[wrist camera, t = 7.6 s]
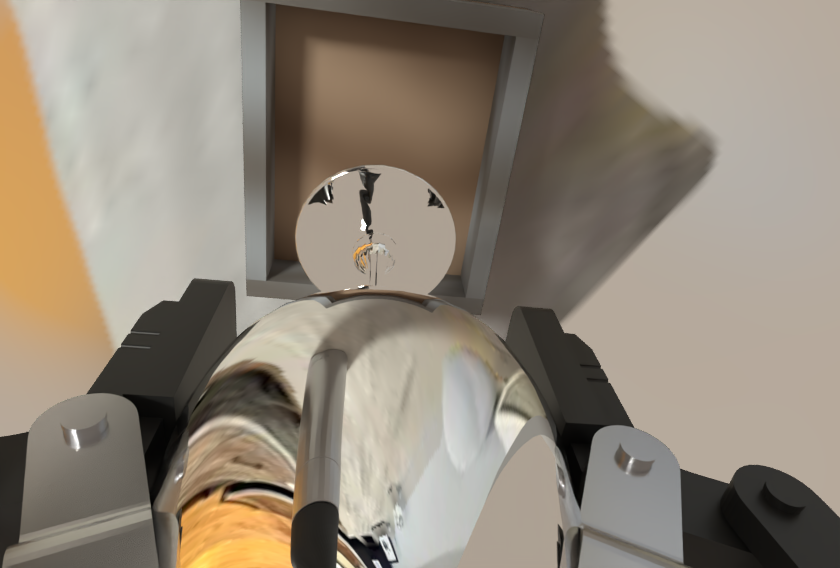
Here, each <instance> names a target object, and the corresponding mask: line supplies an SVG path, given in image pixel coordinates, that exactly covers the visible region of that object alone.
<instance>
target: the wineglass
mask: <svg viewBox="0 0 840 568" xmlns="http://www.w3.org/2000/svg"><path fill="white" fill-rule="evenodd" d="M295 242H296V251H297V254H298V258H299V261H300V263H301V266H302V268H303V270H304V271H305V273H306V275H307V276H308V278H309V279H310V280H311V281H312V283H313V284H314V285H315V286H316V287H317V288H318V289H319V290H320V291H321V292H317V293H315V294H312V295H309V296H306V297H303V298H300V299H298V300H295V301H292V302H289V303H286V304H284V305H282V306H281V307H279V308H277V309H275V310H274V311H272V312H270V313H269V314H267V315H265V316H264V317H262V318H260V319H259V320H257V321H255V322H254V323H253V324H252V325H251V326H249V327H248V328H247V329H246V330H245V331H243V332H242V333H241V334H240V335H239V336H238V337H236V338H235V339H234V340H233V341H232V342H231V343H230V344H229V345H228V346H227V348H226V349H225V350H224V351H223V352H222V353H221V355H220V356H219V357H218V358H217V359H216V360H215V362H214V363H213V364H212V365H211V366H210V368H209V369H208V370H207V372H206V373H205V375H204V376H203V378H202V379H201V381H200V382H199V384H198V385H197V386H196V388H195V389H194V391H193V392H192V394H191V395H190V397H189V398H188V400H187V401H186V403H185V405H184V407H183V409H182V411H181V413H180V414H179V416H178V419H177V421H176V423H175V425H174V427H173V429H172V431H171V433H170V436H169V438H168V441H167V444H166V446H165V449H164V452H163V454H162V457H161V460H160V462H159V465H158V468H157V470H156V473H155V476H154V479H153V482H152V486H151V489H150V492H149V496H150V504H151V512H152V519H153V527H154V534H155V541H156V549H157V556H158V564H159V568H576V566H577V557H578V548H579V533H580V526H581V525H582V519H581V514H580V506H579V500H578V495H577V490H576V485H575V481H574V477H573V473H572V469H571V466H570V463H569V460H568V457H567V454H566V451H565V448H564V445H563V442H562V439H561V436H560V433H559V430H558V427H557V424H556V421H555V419H554V416H553V414H552V412H551V410H550V408H549V406H548V404H547V402H546V400H545V398H544V397H543V395H542V393H541V391H540V390H539V388H538V386H537V385H536V383H535V381H534V379H533V378H532V376H531V375H530V373H529V371H528V370H527V369H526V367H525V366H524V365H523V363H522V362H521V361H520V360H519V358H518V357H517V356H516V354H515V353H514V352H513V351H512V349H511V348H510V347H509V346H508V344H507V343H506V342H505V341H504V340H503V339H501V338H500V337H499V336H498V335H497V334H496V333H495V332H494V331H493V330H492V329H491V328H490V327H489V326H487V325H486V324H484V323H483V322H482V321H480V320H479V319H477V318H476V317H474V316H473V315H472V314H470V313H469V312H467V311H466V310H464V309H462V308H459V307H457V306H455V305H453V304H451V303H449V302H446V301H444V300H442V299H440V298H437V297H434V296H431V295H428V293H430V292H431V291H432V290H433V289H434V288H435V287H436V286H437V285H438V284H439V283H440V282H441V280H442V279H443V278H444V276H445V274H446V273H447V271H448V269H449V267H450V265H451V262H452V259H453V256H454V252H455V244H456V232H455V225H454V220H453V217H452V215H451V212H450V209H449V207H448V206H447V204H446V202H445V200H444V199H443V198H442V196H441V195H440V194H439V193H438V191H437V190H436V189H435V188H434V187H433V186H432V185H431V184H429V183H428V182H427V181H425V180H424V179H423V178H421V177H419V176H417V175H415V174H413V173H411V172H409V171H407V170H405V169H401V168H397V167H393V166H388V165H383V164H382V165H360V166H356V167H352V168H349V169H345V170H342V171H340V172H338V173H336V174H334V175H332V176H331V177H329V178H327V179H325V180H324V181H323V182H322V183H321V184H320V185H319V186H317V187H316V188H315V189H314V190H313V191H312V193H311V194H310V195H309V197H308V198H307V200H306V201H305V202H304V204H303V206H302V209H301V211H300V214H299V216H298V219H297V224H296V231H295Z"/></svg>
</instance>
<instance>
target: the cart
mask: <svg viewBox="0 0 840 568" xmlns="http://www.w3.org/2000/svg"><path fill="white" fill-rule="evenodd" d="M240 13H241V59H242V105H243V151H244V198H245V244H246V290H247V296H254V297H266V298H279V299H291V300H298V299H300V298H303V297H306V296H309V295H312V294H315V293H317V292H321V291H320V290H319V289H318V288H317V287H316V286H315V285H314V284H313V283H312V281H311V280H310V279H309V278H308V276H307V275H306V273H305V271H304V270H303V268H302V266H301V263H300V261H299V258H298V254H297V251H296V242H295V231H296V224H297V219H298V216H299V214H300V211H301V209H302V206H303V204H304V202H305V201H306V200H307V198H308V197H309V195H310V194H311V193H312V191H313V190H314V189H315V188H316V187H317V186H319V185H320V184H321V183H322V182H323V181H324V180H325V179H327V178H329V177H331V176H332V175H334V174H336V173H338V172H340V171H342V170H345V169H349V168H352V167H356V166H360V165H382V164H383V165H388V166H393V167H397V168H401V169H405V170H407V171H409V172H411V173H413V174H415V175H417V176H419V177H421V178H423V179H424V180H425V181H427V182H428V183H429V184H431V185H432V186H433V187H434V188H435V189H436V190H437V191H438V193H439V194H440V195H441V196H442V198H443V199H444V200H445V202H446V204H447V206H448V207H449V209H450V212H451V215H452V217H453V220H454V225H455V232H456V244H455V252H454V256H453V259H452V262H451V265H450V267H449V269H448V271H447V273H446V274H445V276H444V278H443V279H442V280H441V282H440V283H439V284H438V285H437V286H436V287H435V288H434V289H433V290H432V291H431V292H430V293H428V295H431V296H434V297H437V298H440V299H442V300H444V301H446V302H449V303H451V304H453V305H455V306H457V307H459V308H462V309H464V310H466V311H467V312H469V313H470V314H476V315H481V311H482V306H483V302H484V297H485V292H486V287H487V283H488V278H489V273H490V269H491V264H492V259H493V254H494V250H495V245H496V240H497V236H498V231H499V226H500V222H501V217H502V212H503V207H504V203H505V198H506V193H507V189H508V184H509V179H510V174H511V170H512V165H513V160H514V156H515V151H516V146H517V142H518V137H519V132H520V127H521V123H522V118H523V113H524V109H525V104H526V99H527V94H528V90H529V85H530V80H531V76H532V71H533V66H534V62H535V57H536V52H537V47H538V43H539V38H540V33H541V29H542V24H543V19H544V14H542V13H539V12H536V11H532V10H529V9H526V8H520V7H513V6H506V5H499V4H491V3H484V2H477V1H470V0H240Z"/></svg>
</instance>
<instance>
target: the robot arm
mask: <svg viewBox="0 0 840 568" xmlns="http://www.w3.org/2000/svg"><path fill="white" fill-rule="evenodd" d="M236 337H237V332H236V300H235V286H234V283H233V282H232V281H220V280H208V279H196V278H195V279H193V280H192V281H191V283H190V284H189V286H188V288H187V289H186V291H185V293H184V294H183V296H182V297H181V299H180V301H179V302H176V301H162V302H160V303H159V304H157V305H156V306H154V307H152V308H151V309H149V310H148V311H146V312H145V313H143V314H142V315H141V317H140V318H139V319H138V321H137V322H136V324H135V325H134V327H133V328H132V329H131V334H128V335H127V337H126V338H125V340H124V341H123V342H122V344H121V348H118V350H117V351H116V352H115V354H114V355H113V357H112V358H111V360H110V361H109V362H108V364H107V365H106V367H105V368H104V370H103V371H102V373H101V374H100V375H99V377H98V378H97V380H96V381H95V382H94V384H93V385H92V387H91V388H90V390H89V391H88V393H87V394H86V395H81V396H77V397H74V398H71V399H68V400H65V401H63V402H60V403H58V404H56V405H54V406H53V407H51V408H50V409H48V410H47V411H45V412H44V413H43V414H41V416H39V417H38V418H37V419H36V421H35V422H34V423H33V425H32V427H31V428H30V430H29V432H26V433H21V434H16V435H10V436H4V437H0V568H159V564H158V556H157V549H156V541H155V534H154V527H153V519H152V512H151V504H150V496H149V492H150V489H151V486H152V482H153V479H154V476H155V473H156V470H157V468H158V465H159V462H160V460H161V457H162V454H163V452H164V449H165V446H166V444H167V441H168V438H169V436H170V433H171V431H172V429H173V427H174V425H175V423H176V421H177V419H178V416H179V414H180V413H181V411H182V409H183V407H184V405H185V403H186V401H187V400H188V398H189V397H190V395H191V394H192V392H193V391H194V389H195V388H196V386H197V385H198V384H199V382H200V381H201V379H202V378H203V376H204V375H205V373H206V372H207V370H208V369H209V368H210V366H211V365H212V364H213V363H214V362H215V360H216V359H217V358H218V357H219V356H220V355H221V353H222V352H223V351H224V350H225V349H226V348H227V346H228V345H229V344H230V343H231V342H232V341H233V340H234V339H235V338H236ZM505 342H506V343H507V344H508V346H509V347H510V348H511V349H512V351H513V352H514V353H515V354H516V356H517V357H518V358H519V360H520V361H521V362H522V363H523V365H524V366H525V367H526V369H527V370H528V371H529V373H530V375H531V376H532V378H533V379H534V381H535V383H536V385H537V386H538V388H539V390H540V391H541V393H542V395H543V397H544V398H545V400H546V402H547V404H548V406H549V408H550V410H551V412H552V414H553V416H554V419H555V421H556V424H557V427H558V430H559V433H560V436H561V439H562V442H563V445H564V448H565V451H566V454H567V457H568V460H569V463H570V466H571V469H572V473H573V477H574V481H575V485H576V490H577V495H578V500H579V506H580V514H581V519H582V525H581V526H580V533H579V548H578V557H577V566H576V568H840V518H839V517H838V516H837V515H836V514H835V513H834V512H833V511H832V510H831V509H830V508H829V506H828V505H826V503H825V502H824V501H822V499H821V498H819V496H818V495H816V494H815V493H814V492H813V491H812V490H811V489H810V488H808V487H807V486H806V485H805V484H803V483H802V482H800V481H799V480H797V479H796V478H794V477H792V476H790V475H788V474H786V473H784V472H782V471H779V470H776V469H773V468H770V467H766V466H761V465H748V466H743V467H741V468H739V469H738V470H737V471H736V472H735V474H734V476H733V478H732V480H731V481H730V483H729V484H728V483H724V482H721V481H718V480H714V479H711V478H707V477H704V476H701V475H698V474H694V473H691V472H688V471H685V470H682V469H680V466H679V464H678V461H677V459H676V457H675V456H674V455H673V453H672V452H671V451H670V449H669V448H667V446H666V445H664V444H663V443H662V442H661V441H659V440H658V439H656V438H655V437H653V436H652V435H650V434H648V433H646V432H644V431H641V430H639V429H635V428H634V426H633V424H632V423H631V421H630V419H629V417H628V415H627V413H626V411H625V410H624V408H623V406H622V404H621V402H620V400H619V399H618V397H617V395H616V393H615V391H614V389H613V387H612V386H611V384H610V383H608V378H607V376H606V374H605V373H604V371H603V369H601V365H600V363H599V362H598V360H597V358H596V356H595V354H594V352H593V351H592V349H591V348H590V347H589V346H588V345H586V344H585V343H584V342H583V341H582V340H581V339H580V338H579V337H577V336H576V335H575V334H568V333H564V332H563V330H562V327H561V325H560V323H559V321H558V319H557V317H556V315H555V313H554V311H553V310H552V309H544V308H532V307H520V306H517V307H516V308H515V309H514V311H513V314H512V317H511V321H510V325H509V329H508V333H507V337H506V341H505Z"/></svg>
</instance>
